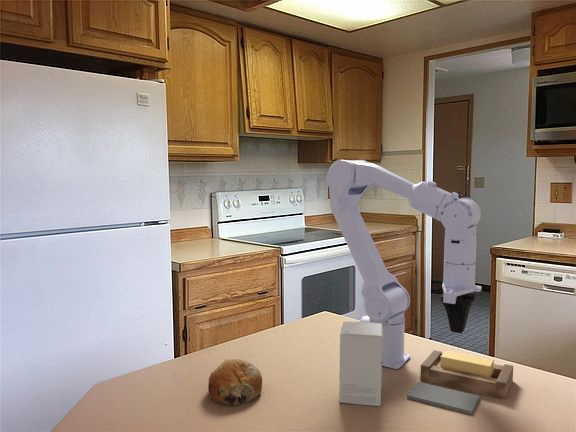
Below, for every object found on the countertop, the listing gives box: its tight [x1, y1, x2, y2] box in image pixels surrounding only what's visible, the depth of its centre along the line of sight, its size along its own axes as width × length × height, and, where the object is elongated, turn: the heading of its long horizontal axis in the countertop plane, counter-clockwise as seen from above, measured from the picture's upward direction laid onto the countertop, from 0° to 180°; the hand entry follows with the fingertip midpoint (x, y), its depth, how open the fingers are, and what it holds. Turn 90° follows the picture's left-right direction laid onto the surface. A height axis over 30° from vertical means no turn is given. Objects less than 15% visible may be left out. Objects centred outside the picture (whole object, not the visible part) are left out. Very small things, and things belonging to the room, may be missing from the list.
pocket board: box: [419, 350, 514, 400], centre depth 94 cm, size 15×9×3 cm, turn 58°
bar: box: [440, 349, 495, 377], centre depth 94 cm, size 9×4×2 cm, turn 58°
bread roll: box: [207, 358, 263, 406], centre depth 90 cm, size 10×10×8 cm
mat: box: [406, 381, 480, 416], centre depth 87 cm, size 11×6×1 cm, turn 58°
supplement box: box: [338, 321, 383, 407], centre depth 88 cm, size 7×7×13 cm
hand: (457, 331), depth 95 cm, fingers closed
